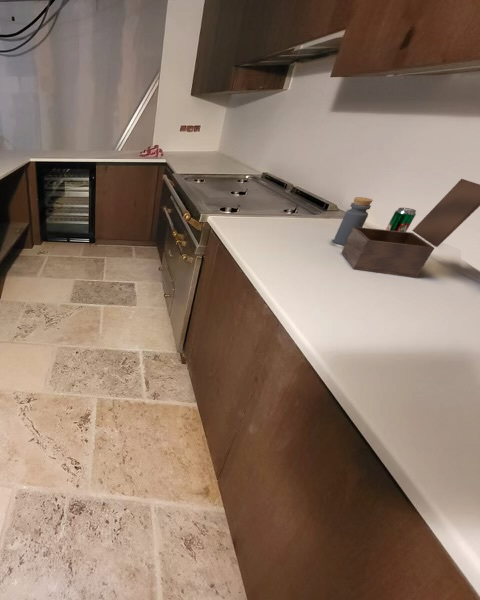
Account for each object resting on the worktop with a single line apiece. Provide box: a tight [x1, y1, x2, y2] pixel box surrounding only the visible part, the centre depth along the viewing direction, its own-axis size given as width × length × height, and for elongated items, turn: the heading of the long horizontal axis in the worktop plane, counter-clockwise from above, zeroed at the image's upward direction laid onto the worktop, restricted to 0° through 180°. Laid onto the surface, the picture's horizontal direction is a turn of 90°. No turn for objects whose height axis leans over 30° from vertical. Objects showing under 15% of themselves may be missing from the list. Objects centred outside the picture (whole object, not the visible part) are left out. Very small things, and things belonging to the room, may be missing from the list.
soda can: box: [385, 207, 417, 232], centre depth 106 cm, size 5×5×12 cm
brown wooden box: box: [341, 227, 435, 279], centre depth 94 cm, size 15×13×9 cm
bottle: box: [333, 196, 374, 246], centre depth 107 cm, size 6×6×15 cm
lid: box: [411, 178, 480, 248], centre depth 84 cm, size 15×13×1 cm
